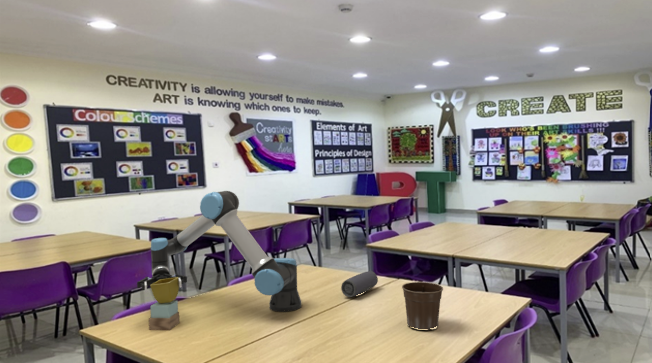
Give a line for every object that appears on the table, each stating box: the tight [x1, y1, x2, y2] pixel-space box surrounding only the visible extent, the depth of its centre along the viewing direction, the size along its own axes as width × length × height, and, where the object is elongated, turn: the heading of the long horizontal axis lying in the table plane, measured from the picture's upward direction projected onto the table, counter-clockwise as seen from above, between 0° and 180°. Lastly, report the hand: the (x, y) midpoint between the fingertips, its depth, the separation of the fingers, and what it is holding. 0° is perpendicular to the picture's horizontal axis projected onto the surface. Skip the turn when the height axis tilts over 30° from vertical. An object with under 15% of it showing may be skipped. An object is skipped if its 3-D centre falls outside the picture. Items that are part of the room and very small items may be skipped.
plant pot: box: [401, 281, 444, 329], centre depth 180 cm, size 16×16×16 cm
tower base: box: [148, 311, 180, 331], centre depth 188 cm, size 9×9×5 cm
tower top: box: [150, 299, 179, 318], centre depth 188 cm, size 8×8×5 cm
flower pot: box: [149, 277, 180, 304], centre depth 189 cm, size 9×9×9 cm
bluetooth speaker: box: [340, 270, 379, 298], centre depth 228 cm, size 23×9×10 cm, turn 144°
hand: (163, 286), depth 185 cm, fingers open, 13 cm apart
